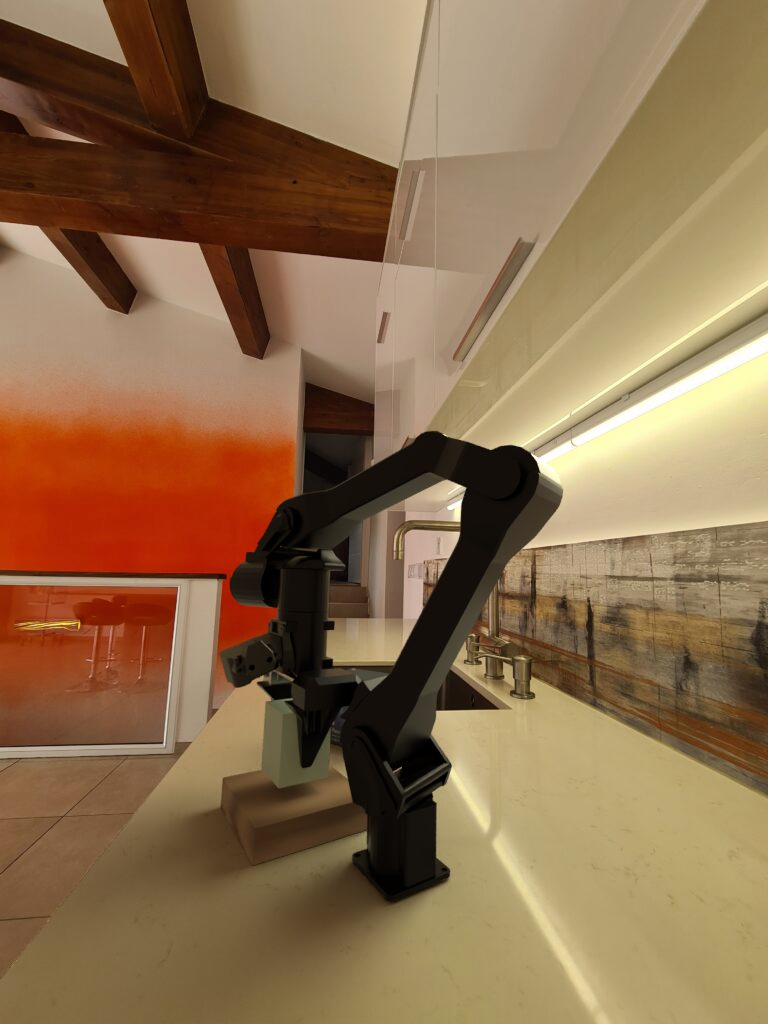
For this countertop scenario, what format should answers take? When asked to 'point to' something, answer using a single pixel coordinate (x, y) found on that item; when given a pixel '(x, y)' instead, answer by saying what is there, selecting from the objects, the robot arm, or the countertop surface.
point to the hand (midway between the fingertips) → (295, 757)
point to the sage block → (288, 748)
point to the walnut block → (289, 813)
